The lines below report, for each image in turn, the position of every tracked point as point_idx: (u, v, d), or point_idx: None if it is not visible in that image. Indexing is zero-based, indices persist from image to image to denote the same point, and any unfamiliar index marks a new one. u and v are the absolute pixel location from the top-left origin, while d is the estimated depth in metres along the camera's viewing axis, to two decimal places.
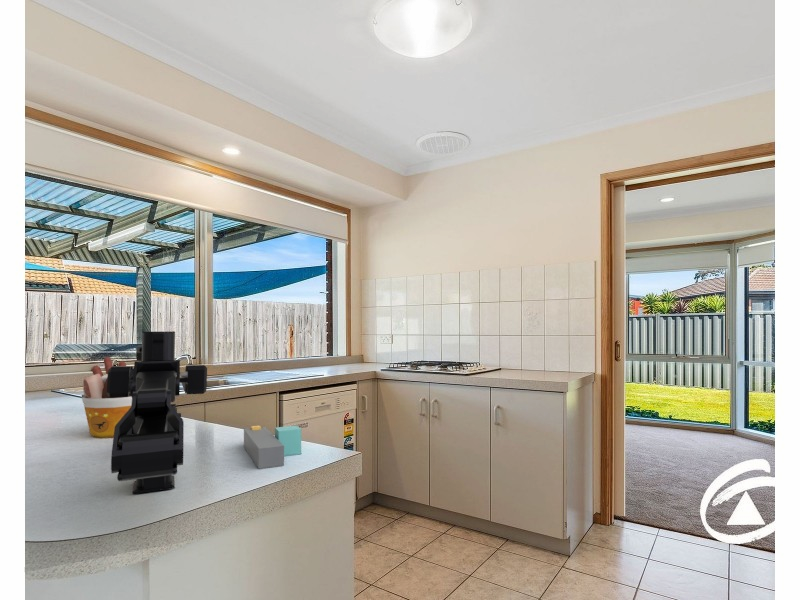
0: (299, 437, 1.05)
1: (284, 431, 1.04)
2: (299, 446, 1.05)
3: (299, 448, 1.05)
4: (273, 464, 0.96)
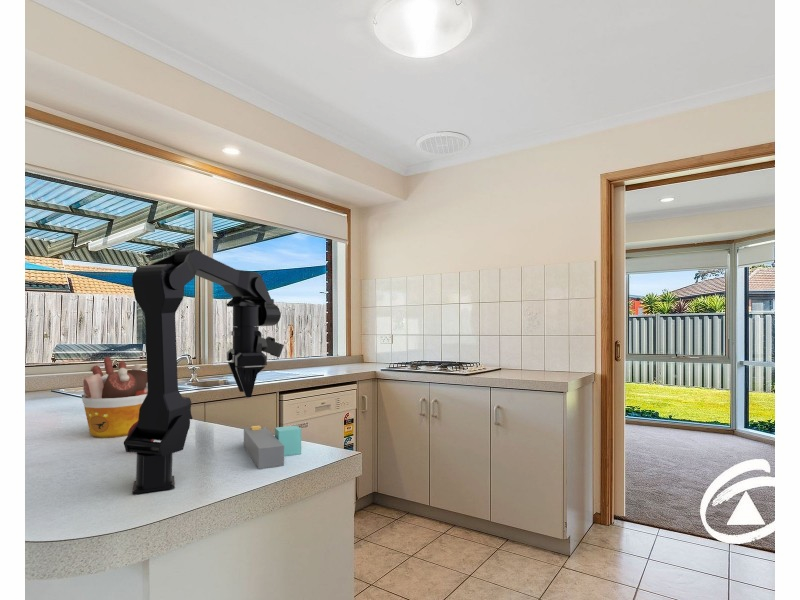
0: (299, 437, 1.05)
1: (284, 431, 1.04)
2: (299, 446, 1.05)
3: (299, 448, 1.05)
4: (273, 464, 0.96)
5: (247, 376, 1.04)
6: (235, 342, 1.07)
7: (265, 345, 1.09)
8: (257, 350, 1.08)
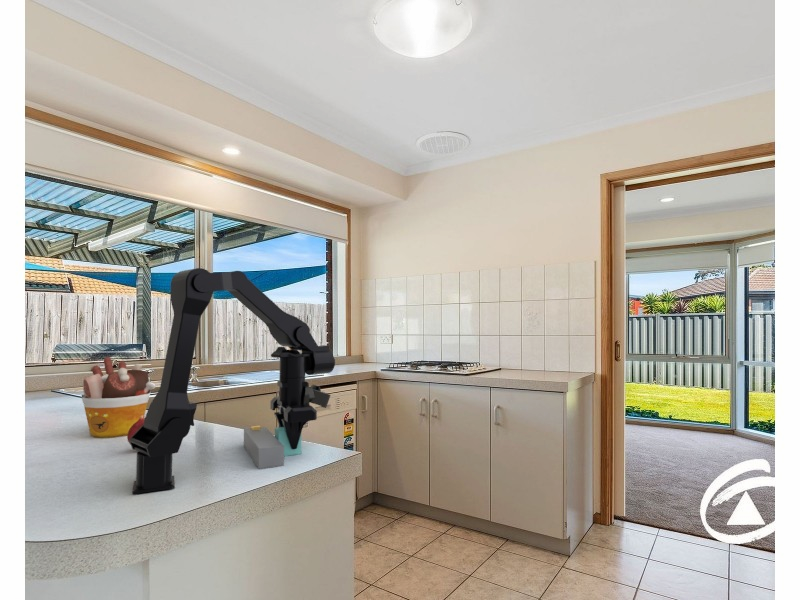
0: None
1: (284, 431, 1.04)
2: (299, 446, 1.05)
3: (299, 448, 1.05)
4: (273, 464, 0.96)
5: (293, 428, 1.03)
6: (282, 393, 1.04)
7: (312, 396, 1.06)
8: (305, 402, 1.05)
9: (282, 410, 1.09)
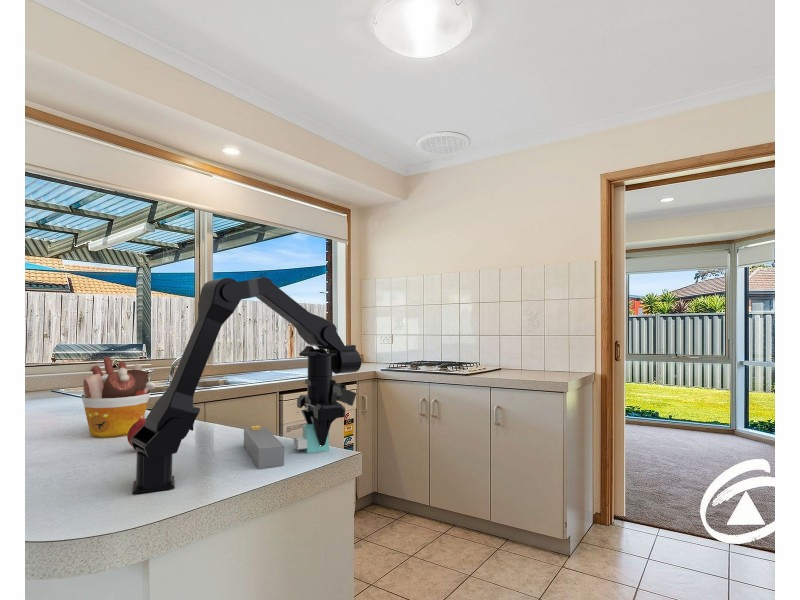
0: None
1: (312, 428, 1.07)
2: (327, 443, 1.08)
3: (327, 445, 1.08)
4: (273, 464, 0.96)
5: (322, 425, 1.06)
6: (311, 391, 1.07)
7: (340, 394, 1.09)
8: (332, 399, 1.08)
9: (309, 408, 1.12)
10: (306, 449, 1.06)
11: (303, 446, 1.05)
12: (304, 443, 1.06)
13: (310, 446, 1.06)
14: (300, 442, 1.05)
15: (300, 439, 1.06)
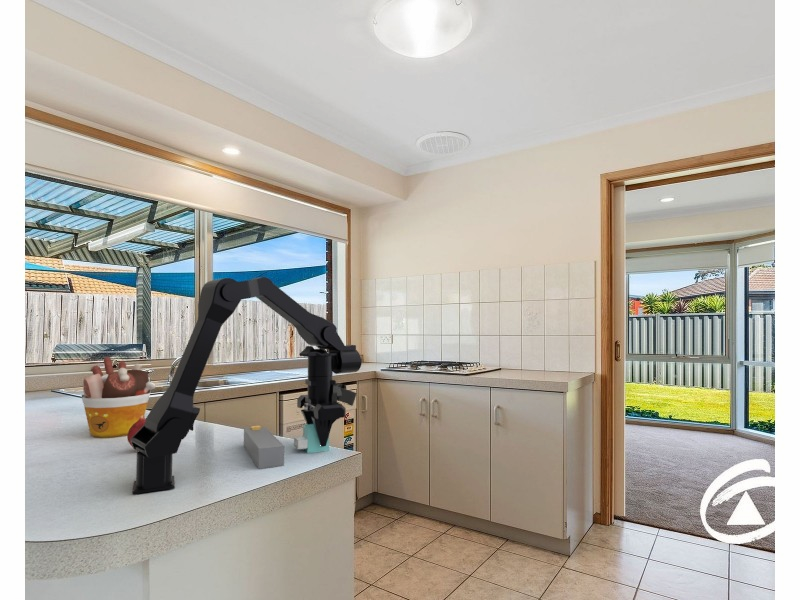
0: None
1: (313, 428, 1.07)
2: (327, 443, 1.08)
3: (327, 445, 1.08)
4: (273, 464, 0.96)
5: (323, 426, 1.06)
6: (311, 391, 1.07)
7: (340, 394, 1.09)
8: (333, 400, 1.08)
9: (309, 407, 1.12)
10: (306, 449, 1.06)
11: (303, 446, 1.05)
12: (305, 443, 1.06)
13: (310, 446, 1.06)
14: (300, 442, 1.05)
15: (300, 439, 1.06)
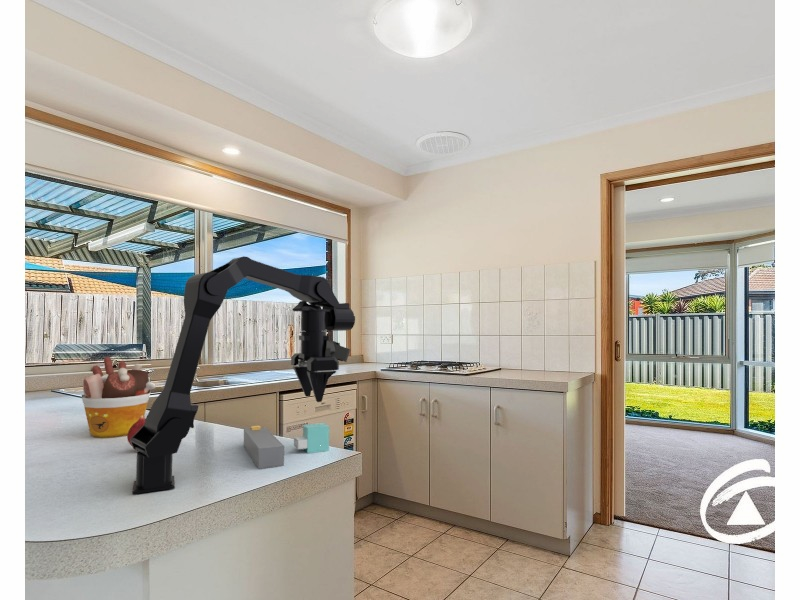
0: (327, 434, 1.08)
1: (313, 428, 1.07)
2: (327, 443, 1.08)
3: (327, 445, 1.08)
4: (273, 464, 0.96)
5: (318, 381, 1.04)
6: (304, 346, 1.07)
7: (333, 350, 1.09)
8: (326, 355, 1.08)
9: (301, 363, 1.14)
10: (306, 449, 1.06)
11: (303, 446, 1.05)
12: (305, 443, 1.06)
13: (310, 446, 1.06)
14: (300, 442, 1.05)
15: (300, 439, 1.06)
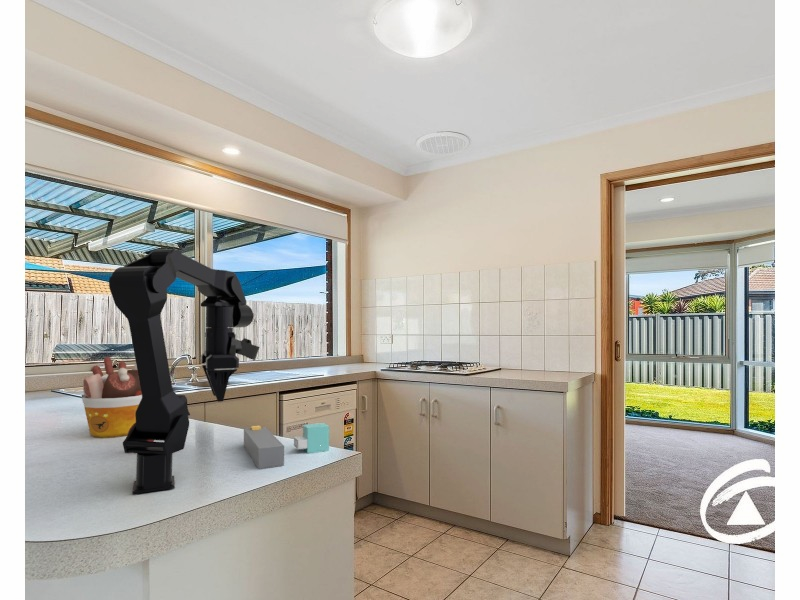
0: (327, 434, 1.08)
1: (313, 428, 1.07)
2: (327, 443, 1.08)
3: (327, 445, 1.08)
4: (273, 464, 0.96)
5: (219, 379, 0.99)
6: (207, 343, 1.03)
7: (239, 347, 1.04)
8: (230, 352, 1.03)
9: None
10: (306, 449, 1.06)
11: (303, 446, 1.05)
12: (305, 443, 1.06)
13: (310, 446, 1.06)
14: (300, 442, 1.05)
15: (300, 439, 1.06)
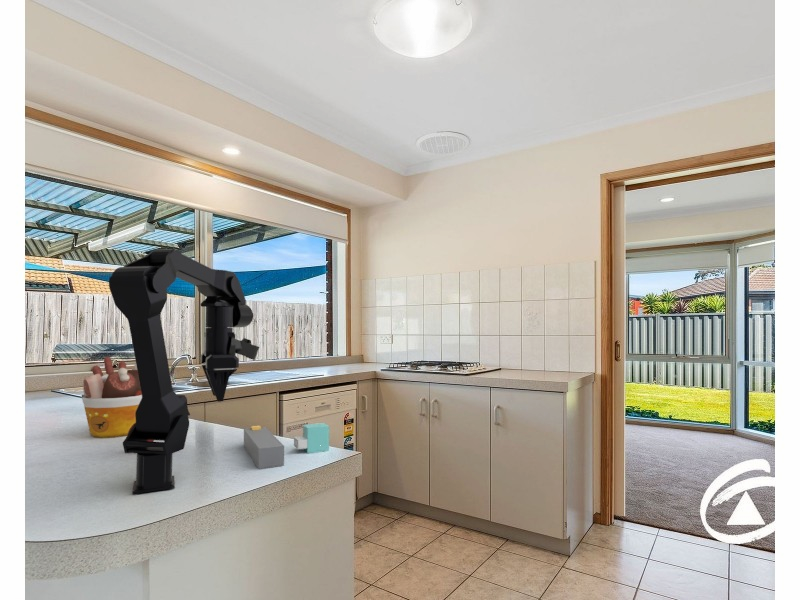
0: (327, 434, 1.08)
1: (313, 428, 1.07)
2: (327, 443, 1.08)
3: (327, 445, 1.08)
4: (273, 464, 0.96)
5: (218, 379, 0.99)
6: (207, 343, 1.03)
7: (239, 347, 1.04)
8: (230, 352, 1.03)
9: None
10: (306, 449, 1.06)
11: (303, 446, 1.05)
12: (305, 443, 1.06)
13: (310, 446, 1.06)
14: (300, 442, 1.05)
15: (300, 439, 1.06)
